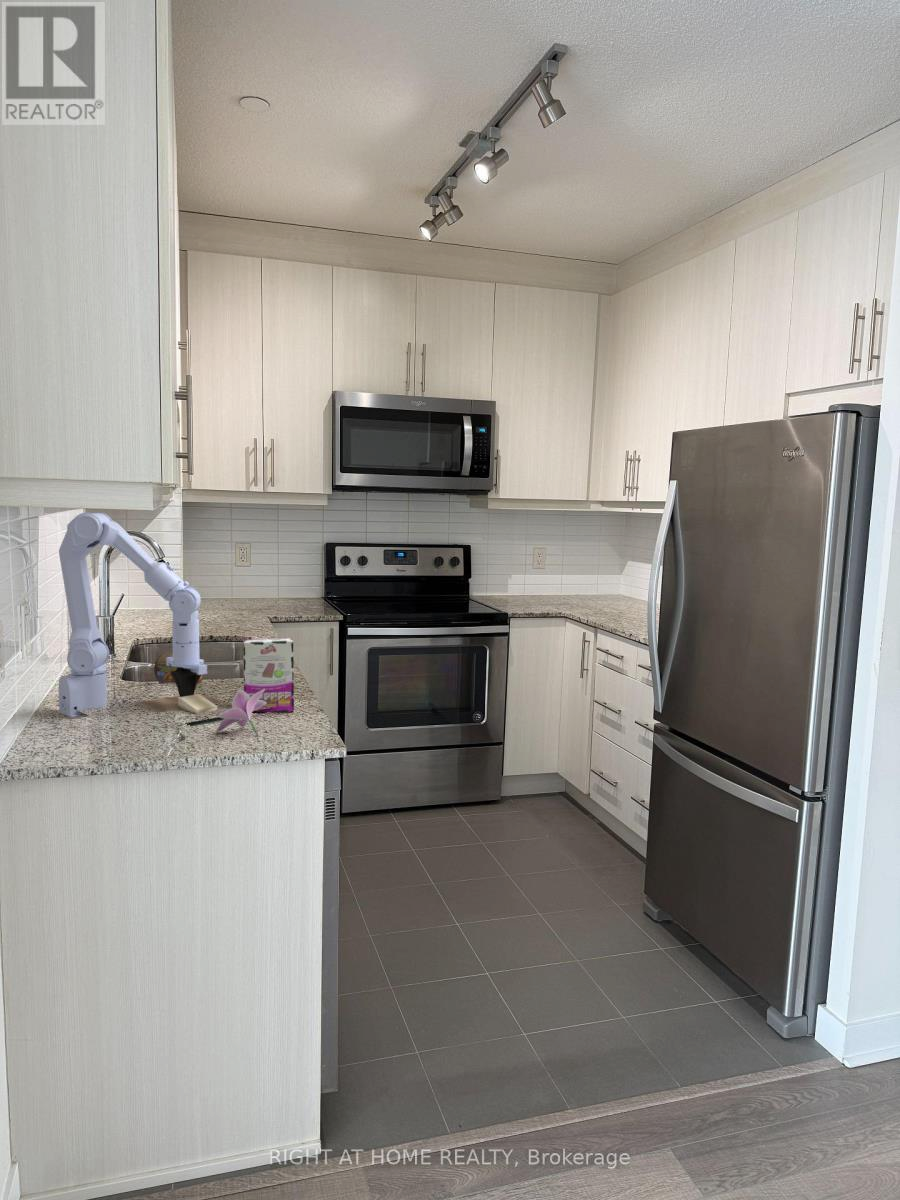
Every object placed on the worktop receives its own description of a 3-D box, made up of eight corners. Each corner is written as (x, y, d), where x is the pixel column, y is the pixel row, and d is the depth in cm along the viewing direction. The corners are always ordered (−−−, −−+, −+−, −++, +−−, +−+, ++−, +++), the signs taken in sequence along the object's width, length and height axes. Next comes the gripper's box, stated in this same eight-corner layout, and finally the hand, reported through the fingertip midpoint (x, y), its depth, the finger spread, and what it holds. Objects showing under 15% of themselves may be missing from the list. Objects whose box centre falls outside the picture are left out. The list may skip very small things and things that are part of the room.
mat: (193, 727, 174) (193, 725, 174) (167, 717, 181) (167, 716, 181) (243, 718, 183) (243, 716, 183) (216, 709, 190) (216, 707, 190)
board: (158, 719, 180) (158, 712, 180) (132, 709, 188) (132, 702, 188) (224, 707, 192) (223, 701, 192) (197, 699, 200) (197, 693, 200)
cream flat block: (195, 718, 180) (196, 709, 179) (177, 705, 185) (178, 697, 185) (216, 714, 183) (217, 706, 183) (198, 702, 189) (198, 694, 188)
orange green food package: (153, 684, 216) (152, 652, 215) (162, 682, 219) (162, 650, 218) (196, 691, 209) (196, 658, 208) (205, 689, 212) (205, 656, 211)
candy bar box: (292, 707, 194) (292, 637, 192) (294, 712, 189) (294, 640, 187) (242, 709, 191) (242, 638, 189) (243, 714, 186) (243, 641, 184)
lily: (276, 730, 177) (258, 689, 179) (287, 721, 167) (267, 677, 168) (222, 754, 172) (204, 711, 173) (230, 746, 162) (210, 701, 163)
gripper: (219, 644, 184) (219, 704, 185) (185, 636, 194) (186, 693, 195) (190, 647, 179) (190, 709, 180) (157, 639, 189) (158, 698, 190)
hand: (186, 701), depth 187 cm, fingers closed
